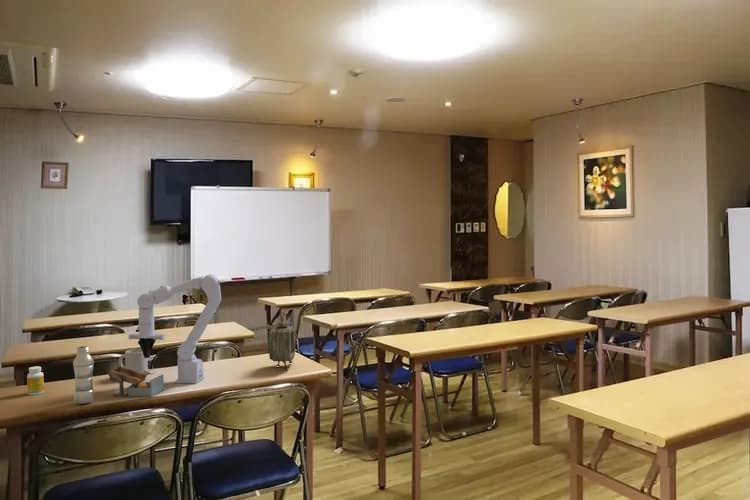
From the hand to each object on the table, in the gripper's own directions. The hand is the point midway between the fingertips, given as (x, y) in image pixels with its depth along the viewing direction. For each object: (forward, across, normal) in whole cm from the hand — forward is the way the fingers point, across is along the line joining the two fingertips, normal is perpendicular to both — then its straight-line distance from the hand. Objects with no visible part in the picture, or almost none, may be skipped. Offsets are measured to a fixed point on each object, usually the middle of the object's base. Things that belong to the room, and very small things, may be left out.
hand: (147, 357), depth 229 cm
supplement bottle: (+11, -36, -17) cm, 41 cm away
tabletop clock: (+10, +46, +30) cm, 56 cm away
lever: (+7, -1, -10) cm, 12 cm away
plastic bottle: (+11, -9, -27) cm, 30 cm away
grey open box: (+10, +7, -13) cm, 18 cm away
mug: (+11, -12, +9) cm, 18 cm away
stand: (+10, -1, -13) cm, 17 cm away
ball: (+8, +5, -13) cm, 16 cm away
